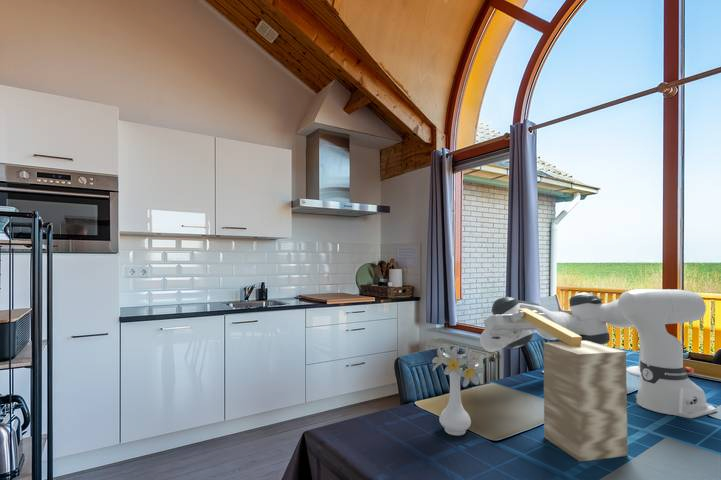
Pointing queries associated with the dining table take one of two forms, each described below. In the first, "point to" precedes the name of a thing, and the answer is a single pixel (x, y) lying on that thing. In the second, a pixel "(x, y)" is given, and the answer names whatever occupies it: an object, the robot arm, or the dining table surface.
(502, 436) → the dining table surface
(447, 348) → the flower vase
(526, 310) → the bar
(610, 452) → the pedestal
